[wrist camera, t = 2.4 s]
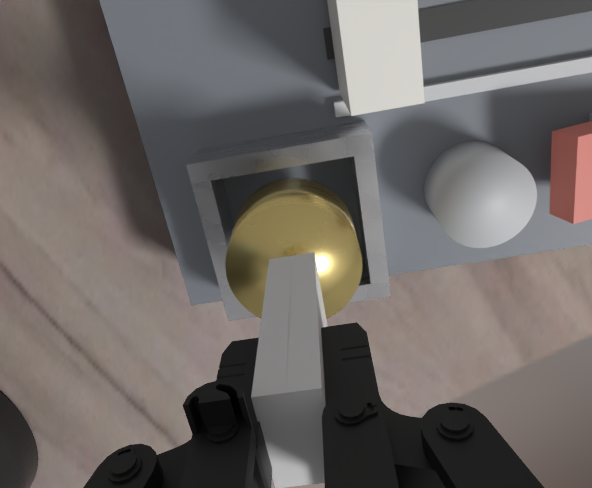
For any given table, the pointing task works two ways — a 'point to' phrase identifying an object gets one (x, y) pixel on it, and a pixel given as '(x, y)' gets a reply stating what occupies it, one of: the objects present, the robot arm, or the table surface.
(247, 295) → the brass button
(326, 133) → the button housing
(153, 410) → the table surface
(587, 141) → the block
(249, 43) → the panel
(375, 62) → the off-white rectangular prism
